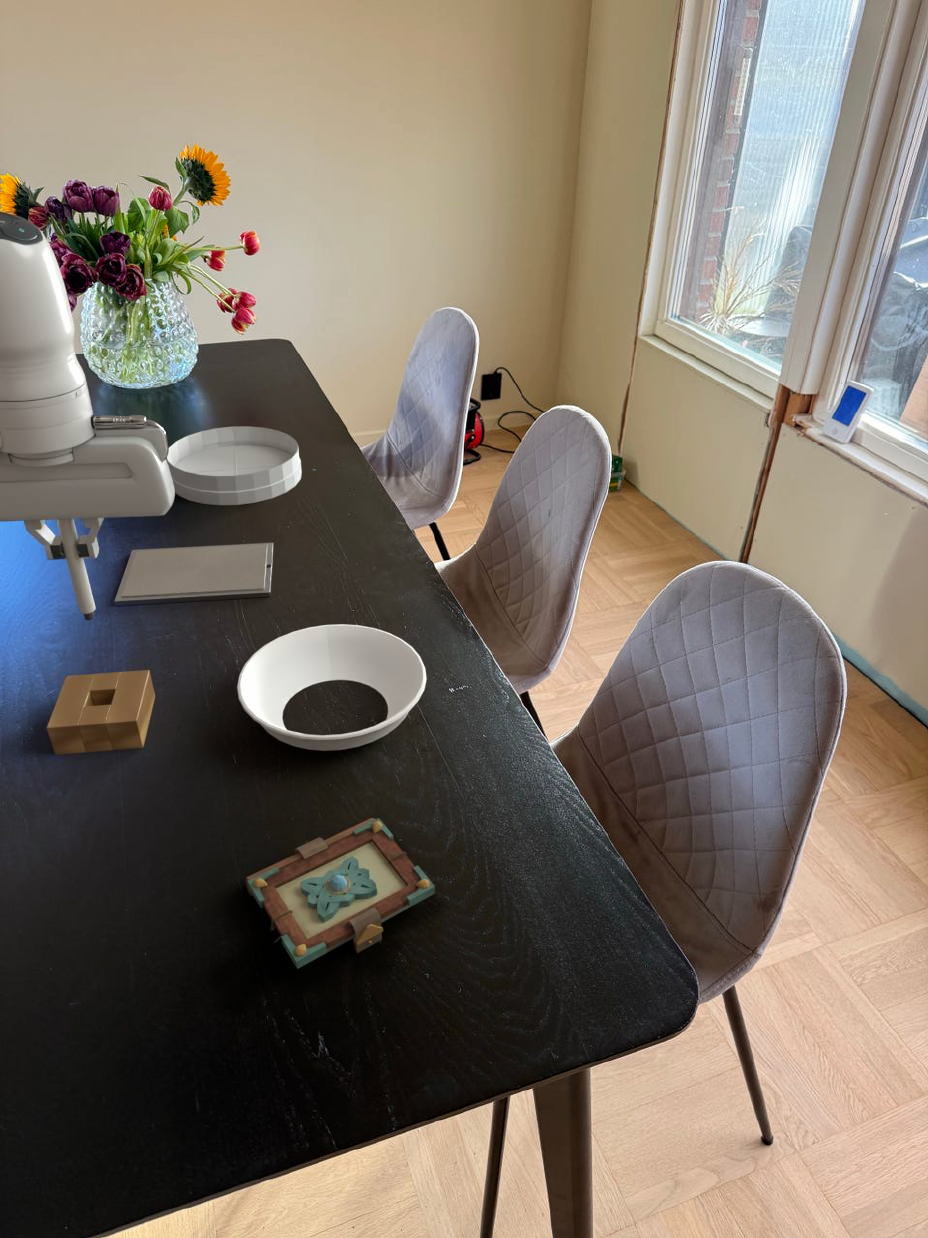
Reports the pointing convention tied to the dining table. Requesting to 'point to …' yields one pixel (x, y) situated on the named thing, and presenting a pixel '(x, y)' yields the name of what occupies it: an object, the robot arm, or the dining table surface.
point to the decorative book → (338, 890)
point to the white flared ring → (331, 678)
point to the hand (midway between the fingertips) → (74, 556)
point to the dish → (234, 465)
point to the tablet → (197, 574)
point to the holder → (102, 712)
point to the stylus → (76, 567)
